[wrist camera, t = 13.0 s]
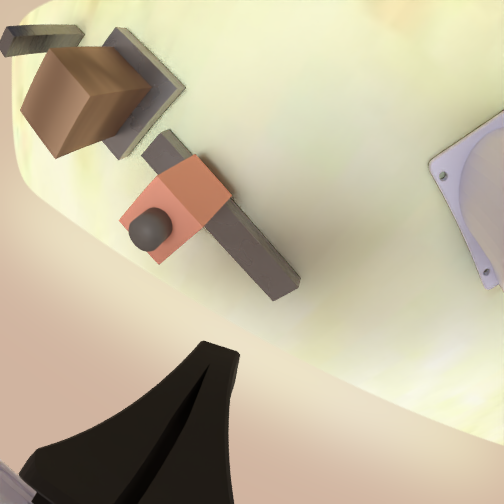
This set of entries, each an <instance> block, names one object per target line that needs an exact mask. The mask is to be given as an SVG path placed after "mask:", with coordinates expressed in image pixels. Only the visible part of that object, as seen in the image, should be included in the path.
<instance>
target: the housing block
mask: <svg viewBox="0 0 504 504" xmlns="http://www.w3.org/2000/svg"><path fill="white" fill-rule="evenodd" d="M151 88H152V87H151V86H150V85H149V84H148V83H147V81H146V80H145V79H144V78H143V77H142V76H141V75H140V74H139V73H138V72H137V71H136V70H135V69H134V68H133V67H132V66H131V65H130V64H129V63H128V62H127V61H126V60H125V59H124V58H123V57H122V56H121V55H120V53H119V52H118V51H117V50H116V49H115V48H114V47H60V48H49V50H48V52H47V54H46V55H45V57H44V59H43V61H42V63H41V65H40V67H39V69H38V71H37V73H36V75H35V77H34V79H33V82H32V84H31V86H30V88H29V90H28V93H27V95H26V97H25V100H24V102H23V105H22V107H21V109H20V111H21V112H22V114H23V115H24V117H25V118H26V120H27V121H28V122H29V124H30V125H31V127H32V128H33V129H34V131H35V132H36V134H37V135H38V136H39V138H40V139H41V140H42V142H43V143H44V145H45V146H46V147H47V149H48V150H49V151H50V153H51V154H52V155H53V157H54V158H55V159H57V158H59V157H61V156H64V155H66V154H69V153H71V152H73V151H76V150H78V149H81V148H84V147H86V146H89V145H91V144H94V143H97V142H99V141H102V140H105V139H108V138H111V137H113V136H115V135H116V134H117V132H118V131H119V129H120V128H121V127H122V125H123V124H124V123H125V121H126V120H127V119H128V117H129V116H130V115H131V113H132V112H133V111H134V109H135V108H136V107H137V105H138V104H139V103H140V102H141V100H142V99H143V98H144V97H145V95H146V94H147V93H148V92H149V91H150V89H151Z"/></svg>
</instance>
